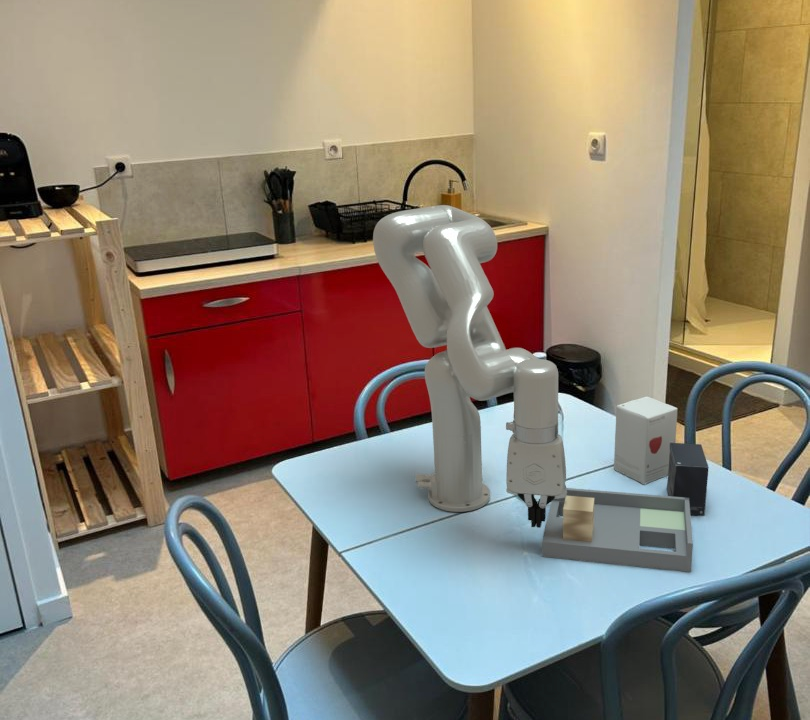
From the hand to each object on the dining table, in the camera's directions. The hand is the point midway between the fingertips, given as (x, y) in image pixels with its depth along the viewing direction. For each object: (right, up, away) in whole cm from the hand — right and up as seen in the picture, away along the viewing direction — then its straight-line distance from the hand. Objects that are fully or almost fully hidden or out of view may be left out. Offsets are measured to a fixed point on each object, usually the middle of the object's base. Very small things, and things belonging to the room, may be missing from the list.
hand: (536, 523), depth 148 cm
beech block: (+7, -1, -2) cm, 8 cm away
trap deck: (+15, -3, +1) cm, 15 cm away
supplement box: (+27, +6, +26) cm, 38 cm away
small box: (+31, +1, +13) cm, 34 cm away
